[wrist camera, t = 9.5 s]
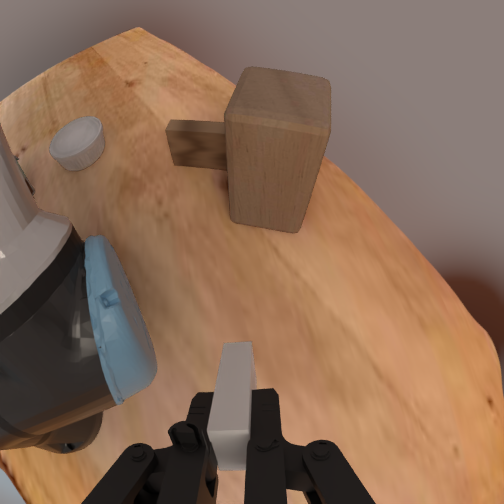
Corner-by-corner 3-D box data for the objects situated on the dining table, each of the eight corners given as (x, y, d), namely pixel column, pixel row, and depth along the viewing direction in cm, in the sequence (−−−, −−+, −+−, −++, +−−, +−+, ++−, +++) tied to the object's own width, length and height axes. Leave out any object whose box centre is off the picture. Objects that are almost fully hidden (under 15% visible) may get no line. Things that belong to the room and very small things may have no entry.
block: (228, 224, 43) (220, 112, 25) (243, 172, 47) (243, 62, 29) (298, 237, 42) (333, 130, 24) (305, 182, 46) (332, 76, 28)
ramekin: (116, 155, 49) (107, 135, 44) (65, 186, 46) (53, 168, 41) (101, 126, 52) (94, 108, 48) (56, 153, 49) (46, 136, 45)
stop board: (174, 165, 47) (165, 130, 40) (178, 154, 48) (170, 119, 41) (308, 181, 46) (318, 146, 39) (308, 169, 48) (317, 134, 40)
